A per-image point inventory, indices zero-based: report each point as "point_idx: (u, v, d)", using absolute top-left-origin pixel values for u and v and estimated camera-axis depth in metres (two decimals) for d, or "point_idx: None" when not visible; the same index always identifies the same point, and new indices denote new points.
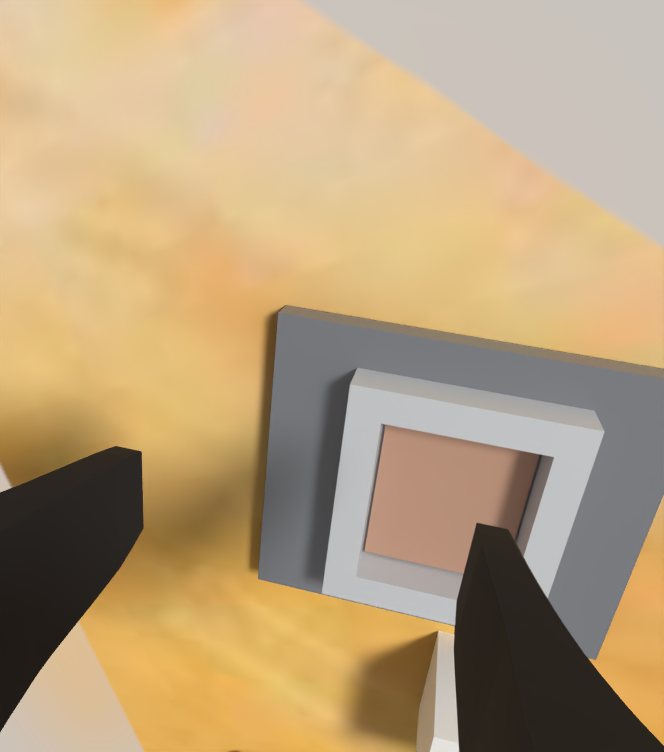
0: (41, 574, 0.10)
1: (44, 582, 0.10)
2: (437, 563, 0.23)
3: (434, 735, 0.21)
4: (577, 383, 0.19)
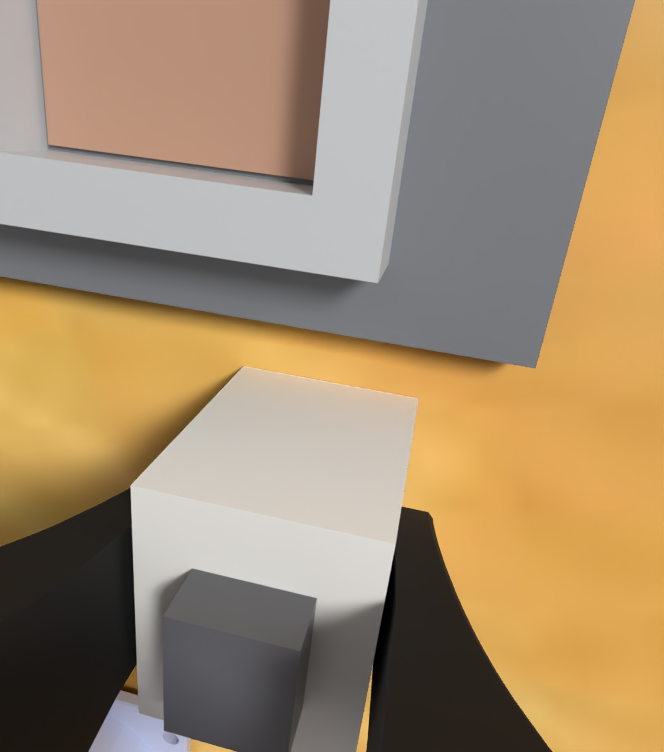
0: (125, 595, 0.10)
1: (127, 603, 0.10)
2: (191, 151, 0.11)
3: (134, 484, 0.09)
4: None
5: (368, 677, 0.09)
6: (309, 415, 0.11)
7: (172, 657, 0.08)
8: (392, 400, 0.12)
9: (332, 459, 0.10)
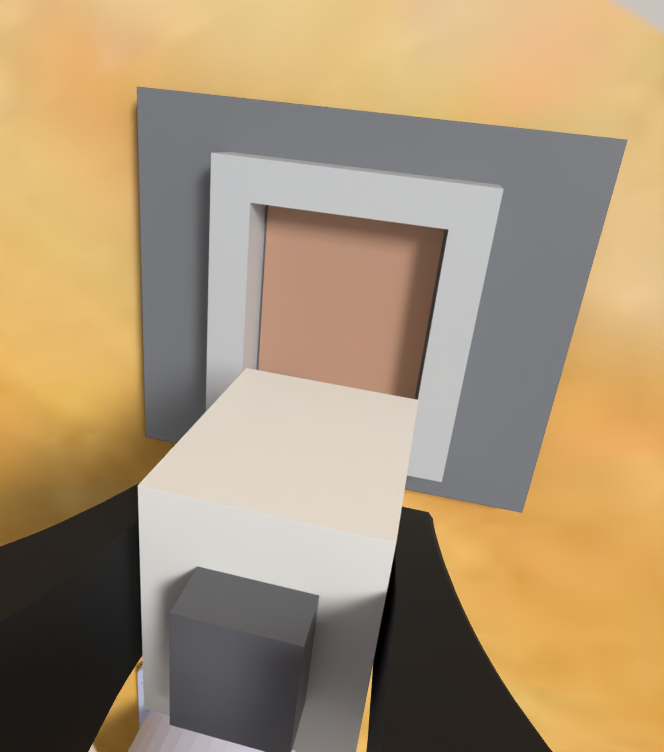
0: (125, 594, 0.10)
1: (126, 603, 0.10)
2: None
3: (141, 484, 0.09)
4: (478, 148, 0.16)
5: (369, 672, 0.09)
6: (311, 416, 0.12)
7: (178, 653, 0.09)
8: (392, 402, 0.13)
9: (334, 460, 0.10)
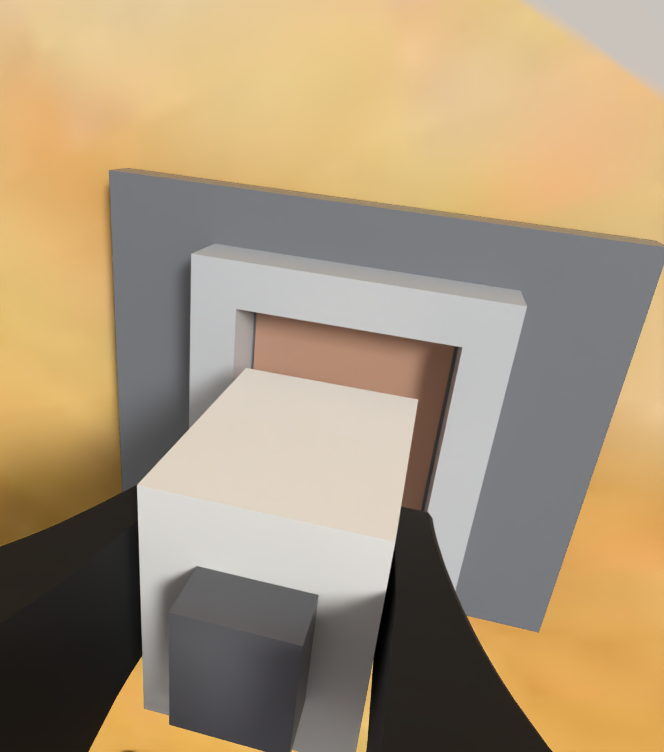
0: (125, 595, 0.10)
1: (127, 603, 0.10)
2: None
3: (141, 484, 0.09)
4: (496, 251, 0.14)
5: (369, 672, 0.09)
6: (310, 416, 0.12)
7: (178, 652, 0.09)
8: (392, 401, 0.13)
9: (333, 459, 0.10)
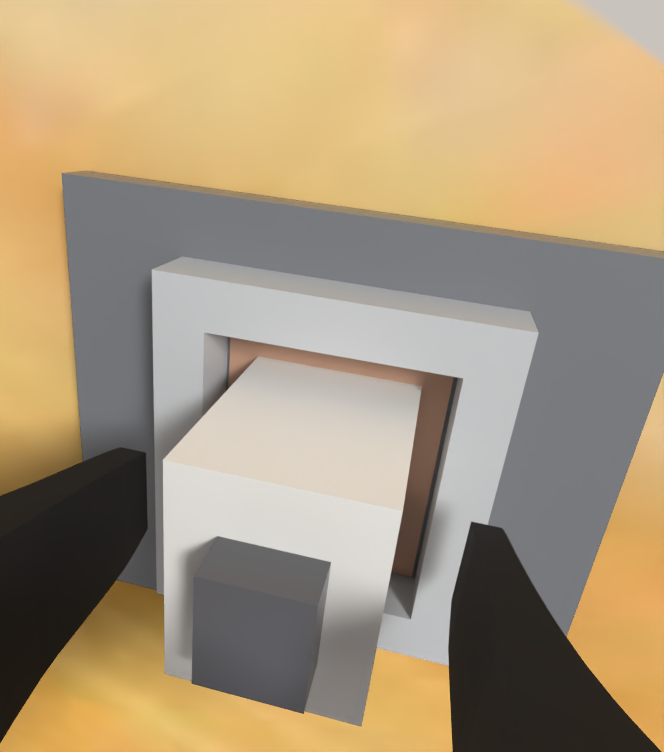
0: (47, 575, 0.10)
1: (50, 583, 0.10)
2: None
3: (166, 459, 0.10)
4: (503, 266, 0.12)
5: (377, 635, 0.10)
6: (321, 400, 0.12)
7: (201, 614, 0.09)
8: (397, 387, 0.13)
9: (344, 439, 0.11)
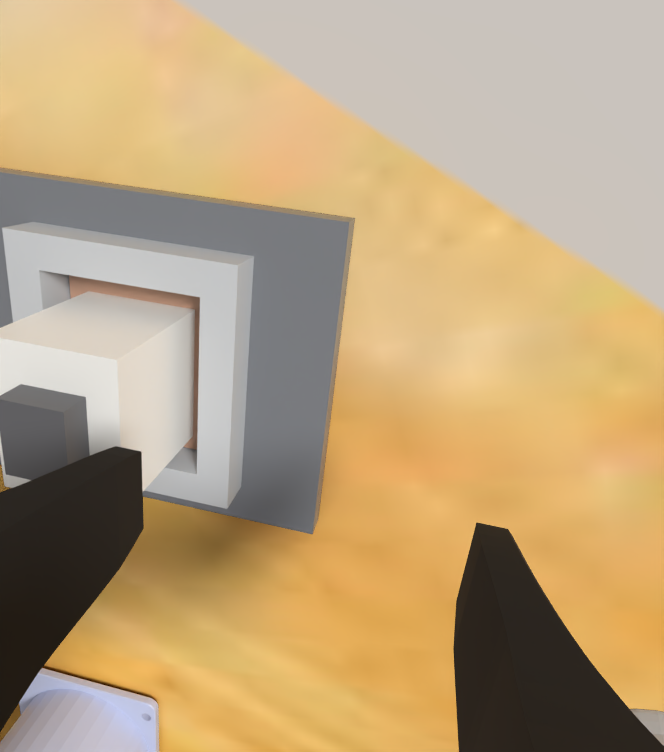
0: (42, 574, 0.10)
1: (44, 582, 0.10)
2: None
3: None
4: (232, 226, 0.19)
5: (120, 446, 0.17)
6: (113, 313, 0.19)
7: (3, 424, 0.16)
8: (175, 309, 0.20)
9: (110, 331, 0.17)
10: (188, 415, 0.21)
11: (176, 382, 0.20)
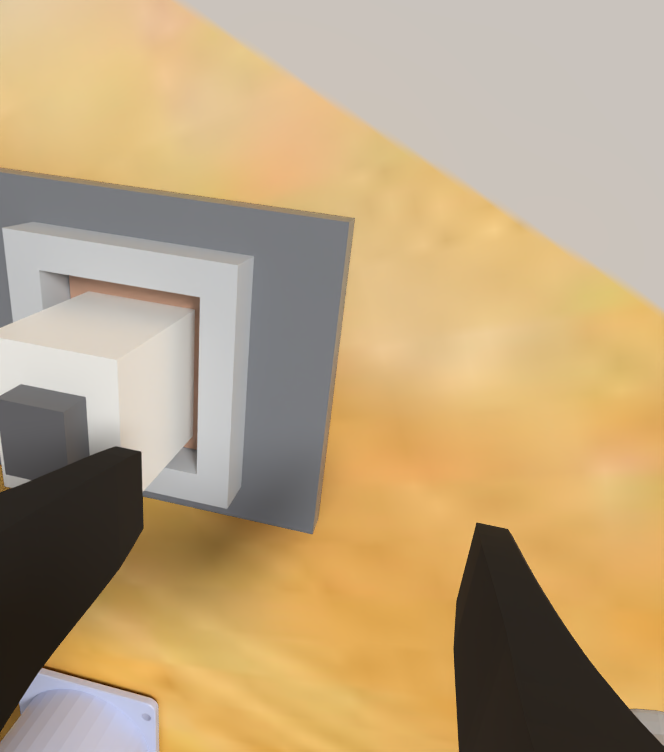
0: (42, 574, 0.10)
1: (44, 582, 0.10)
2: None
3: None
4: (232, 226, 0.19)
5: (120, 446, 0.17)
6: (113, 313, 0.19)
7: (3, 424, 0.16)
8: (175, 309, 0.20)
9: (110, 331, 0.17)
10: (188, 415, 0.21)
11: (176, 382, 0.20)
